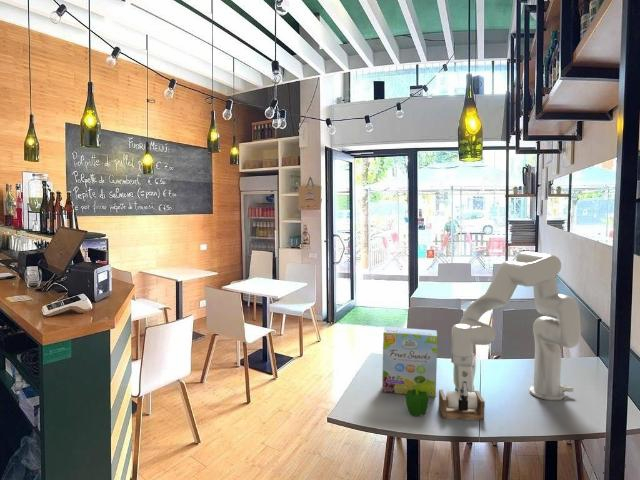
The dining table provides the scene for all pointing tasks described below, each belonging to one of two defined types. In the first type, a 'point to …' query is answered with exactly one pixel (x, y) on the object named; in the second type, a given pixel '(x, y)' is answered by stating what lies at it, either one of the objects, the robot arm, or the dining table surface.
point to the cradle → (463, 415)
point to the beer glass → (473, 371)
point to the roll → (454, 398)
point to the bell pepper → (417, 401)
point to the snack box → (409, 360)
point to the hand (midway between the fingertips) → (461, 405)
